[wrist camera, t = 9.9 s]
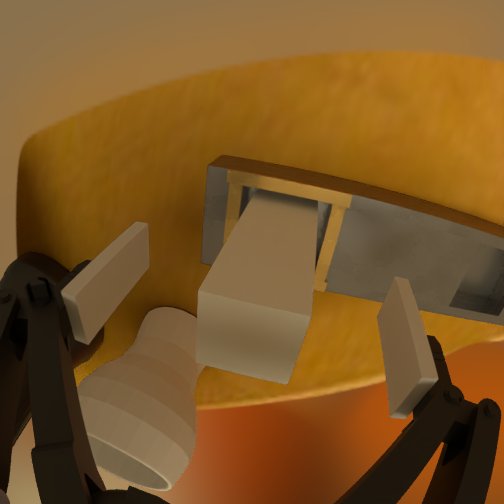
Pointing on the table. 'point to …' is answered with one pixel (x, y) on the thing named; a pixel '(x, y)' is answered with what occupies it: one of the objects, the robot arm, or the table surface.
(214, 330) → the peg
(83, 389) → the cup
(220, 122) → the table surface
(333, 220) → the grey peg hole board
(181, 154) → the table surface
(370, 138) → the table surface
